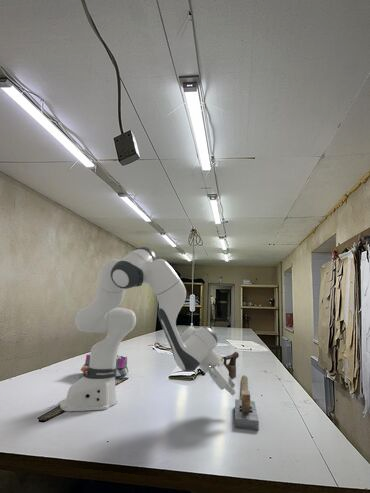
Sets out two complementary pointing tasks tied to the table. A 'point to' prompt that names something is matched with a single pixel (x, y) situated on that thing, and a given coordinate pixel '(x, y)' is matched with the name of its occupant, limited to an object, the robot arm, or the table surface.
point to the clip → (245, 401)
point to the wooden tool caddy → (231, 364)
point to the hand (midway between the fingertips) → (234, 390)
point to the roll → (244, 384)
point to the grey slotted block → (246, 416)
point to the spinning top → (120, 364)
